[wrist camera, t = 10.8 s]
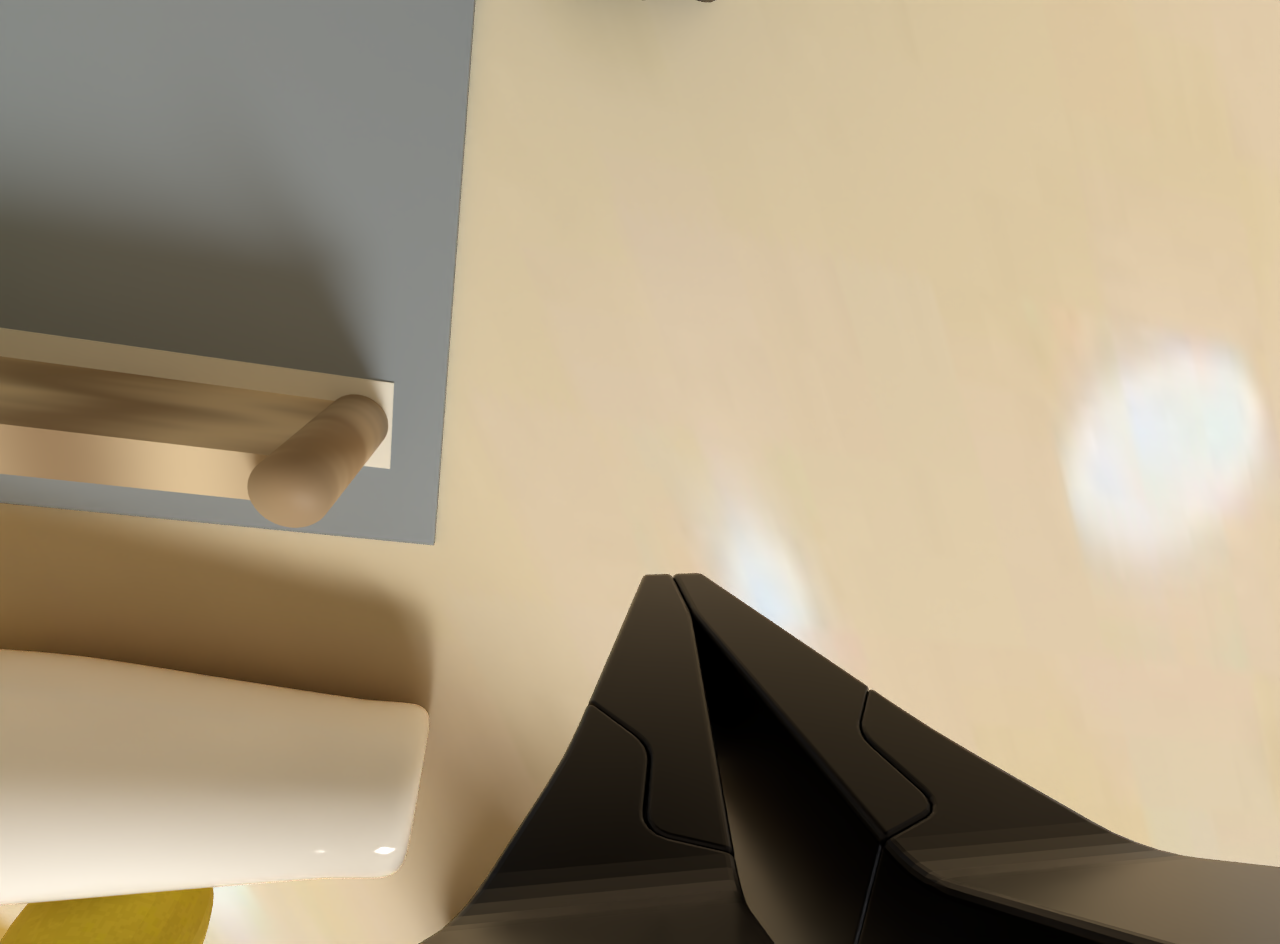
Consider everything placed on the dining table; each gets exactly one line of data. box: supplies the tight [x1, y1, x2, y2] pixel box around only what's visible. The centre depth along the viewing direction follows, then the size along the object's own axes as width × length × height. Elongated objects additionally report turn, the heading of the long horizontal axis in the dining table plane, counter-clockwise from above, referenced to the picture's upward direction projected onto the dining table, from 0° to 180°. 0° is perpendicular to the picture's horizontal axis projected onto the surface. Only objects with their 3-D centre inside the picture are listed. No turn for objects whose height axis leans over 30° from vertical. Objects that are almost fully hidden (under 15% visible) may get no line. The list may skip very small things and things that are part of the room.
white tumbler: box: [0, 649, 430, 905], centre depth 20 cm, size 7×7×15 cm
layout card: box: [0, 0, 475, 545], centre depth 16 cm, size 19×20×1 cm
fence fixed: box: [0, 356, 388, 528], centre depth 16 cm, size 15×2×6 cm, turn 80°
